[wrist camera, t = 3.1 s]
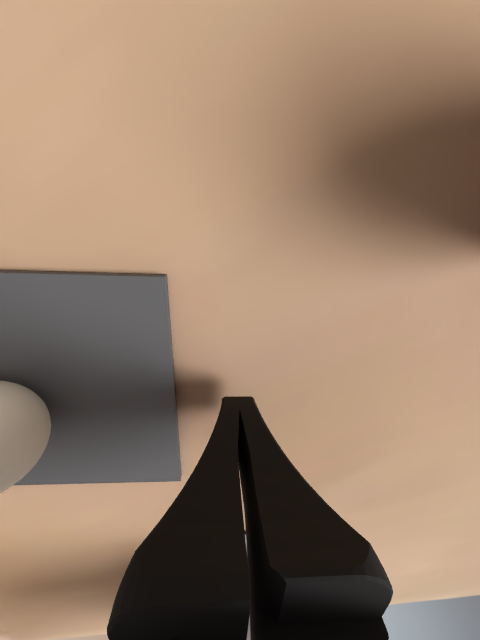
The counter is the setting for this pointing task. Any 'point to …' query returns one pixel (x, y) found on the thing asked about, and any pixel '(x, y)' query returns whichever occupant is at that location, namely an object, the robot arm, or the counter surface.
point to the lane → (94, 372)
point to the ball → (21, 432)
